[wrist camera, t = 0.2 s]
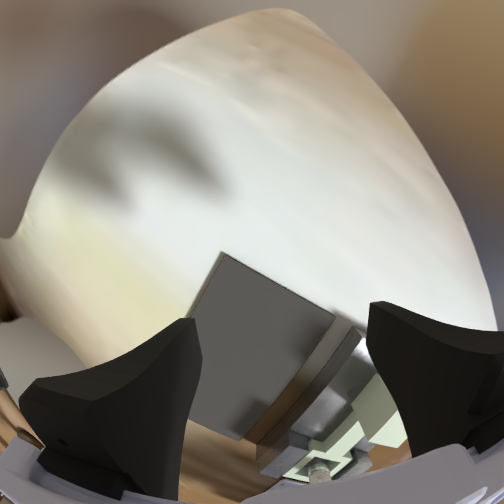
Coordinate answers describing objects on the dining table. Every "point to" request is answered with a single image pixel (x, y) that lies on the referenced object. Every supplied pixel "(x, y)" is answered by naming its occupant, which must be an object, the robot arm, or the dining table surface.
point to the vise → (322, 416)
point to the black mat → (249, 346)
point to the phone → (3, 381)
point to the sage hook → (357, 430)
